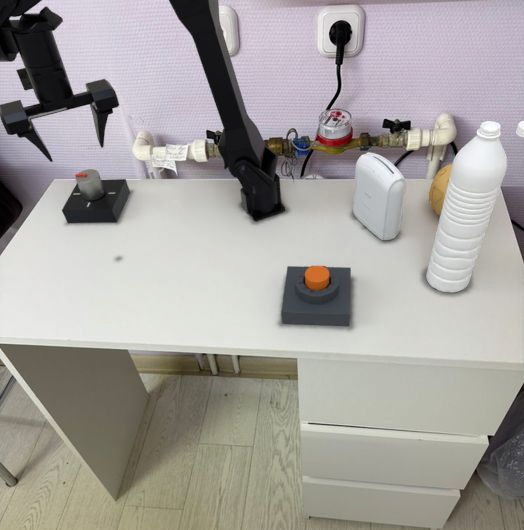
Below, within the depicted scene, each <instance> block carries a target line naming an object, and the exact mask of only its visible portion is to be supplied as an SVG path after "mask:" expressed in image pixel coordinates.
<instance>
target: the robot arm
mask: <svg viewBox="0 0 524 530" xmlns="http://www.w3.org/2000/svg"><path fill="white" fill-rule="evenodd" d="M42 1H43V0H0V63H12V62H15V60H16V59H17V57H18V54H19V56H20V59H21V61H22V63H23V65H24V66H23V68H18V69H16V70H15V71H16V74H17V76H18V78H19V81H20V84H21V85H22V87H23V90H24V91H25V92H26V91H29V90H33V92H34V95H35V97H36V100H37V101H38V103H35V104H32V105H28V106H24V105H23V103H22V101H21V99H17V100H14V101H8V102H6V103H1V104H0V121H1V124H2V126H3V127H4V130H5V132H6V134H7V135H8V136H15V135H17V138H19V139H22V138H25V139H26V140H27V141H29V142H30V143H31V144H33V146H35V147H36V148H37V149H38V150H39V151H40V152H41V154H43V156H45V158H46V159H47V160H48V161H49V162H50V163H53V162H54V160H53V158H52V155H51V152H50V151H49V149H48V148H47V145H46V144H45V142H44V140H43V138H42V137H41V135H40V133H39V131H38V129H37V128H36V126H35V124H34V122H33V120H34V119H38V118H43V117H46V116H50V115H54V114H57V113H61V112H66V111H69V110H74V109H77V108H81V107H85V106H89V107H90V111H91V114H92V119H93V123H94V128H95V134H96V138H97V141H98V144H99V146H100V148H101V149H102V148H104V146H105V136H106V135H105V134H106V126H107V123H108V118H109V115H112V114H114V109H117V108H118V107H119V106H120V103H119V99H118V95H117V93H116V90H115V88H114V87H113V86H112V84H111V82H110V81H109V80H107V79H106V78H102V79H98V80H94V81H89V82H86V83H84V84H85V89H86V91H82V92H79V93H78V92H77V93H74V91H73V88H72V86H71V82H70V80H69V76H68V73H67V70H66V67H65V64H64V62H63V61H64V60H63V59H62V56H61V53H60V50H59V47H58V45H57V44H58V43H57V41H56V38H55V36H54V33H53V32H54V31H56V29H58V28H59V27H60V26H61V24H62V23H63V22H64V18H63V17H62V16H60V15H59V14H57V13H56V12H54V11H52V10H51V9H50V8H49V7H48V6H46V5H45V6H44V7H43V8H41V10H40V11H39V12H36V13H35V12H34V13H33V12H31V13H30V12H29V11H30V10H32V9H33V8H34V7H35V6H36V5H38V4H39V3H41V2H42ZM168 1H169V4H170V6H171V8H172V10H173V11H174V14H175V15H176V17H177V19H178V20H179V22H180V23H181V24H182V26H183V27H184V28H185V30H187V32H188V33H189V35H190V36H191V38H192V40H193V43H194V45H195V49H196V51H197V54H198V57H199V61H200V62H201V66H202V69H203V72H204V75H205V77H206V81H207V83H208V86H209V89H210V92H211V95H212V98H213V101H214V104H215V107H216V110H217V113H218V115H219V118H220V121H221V122H220V123H221V125H222V128H223V129H222V131H221V134H220V137H219V141H218V143H217V149H218V152H219V154H220V156H221V158H222V160H223V169H224V170H227V169H228V172H229V173H230V175H231V176H232V177H233V178H236V179H237V180H238V182H239V184H240V186H241V187H240V189H239V190H240V197H241V206H242V208H243V210H244V211H245V213H246V214H247V215H249V216H250V217H251V219H252V220H253V221H254V222H257V221H260V220H264V219H266V218H269V217H272V216H275V215H279V214H280V213H283V212H285V211H286V206H285V205H284V204H283V203H282V193H281V177H280V175H279V174H278V173H277V166H278V160H279V155H278V154H277V153H276V152H275V151H273V150H272V149H271V148H270V147H268V146H267V145H266V144H265V140H264V138H263V136H262V134H261V132H260V130H259V128H258V126H257V125H256V124H255V122H254V121H253V120H252V119H251V117H250V116H249V114H248V112H247V108H246V105H245V102H244V99H243V95H242V91H241V88H240V85H239V82H238V79H237V75H236V71H235V69H234V66H233V65H234V64H233V62H232V59H231V54H230V51H229V48H228V45H227V41H226V39H225V35H224V32H223V28H222V24H221V21H220V3H219V0H168ZM27 12H29V13H27ZM17 17H19V19H11V18H17Z"/></svg>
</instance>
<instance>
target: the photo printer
mask: <svg viewBox="0 0 524 530" xmlns="http://www.w3.org/2000/svg"><path fill="white" fill-rule="evenodd" d="M406 189H407V181H406V178H405V177H404V175H403V174H402V172H401V171H400V170H399V169H398V167H396V165H394V163H392V162H391V160H389V159H387V158H386V157H384V156H382V155H380V154H378V153H375V152H369V151H367V152H366V153H363V154H361V155H360V156H359V158H358V159H357V161H356V163H355V168H354V186H353V201H352V207H353V208H352V214H353V215H354V216H355V218H356V219H357V220H358V221H359V222H360V223H361V224H362V225H363V226H364V227H365V228H367V230H369V232H371V233H372V234H373V235H375V237H377V238H378V239H380V240H382V241H390V240H391V241H392V240H393V239H396V237H397V236H398V234H399V233H400V230H401V224H402V217H403V209H404V203H405V197H406V191H407V190H406Z"/></svg>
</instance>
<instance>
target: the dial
mask: <svg viewBox="0 0 524 530" xmlns="http://www.w3.org/2000/svg"><path fill="white" fill-rule="evenodd" d="M74 176H75V182H76V184H78V186H79V189H80V191H81V193H82V196H83V198H84V199H86V200H90V201H92V200H97V199H99V198H101V197H103V196H104V194H105V188H104V186H103V183H102V180H103V179H102V178H101V175H100V173H99V171H98V170H96V169H93V168H89V169H84V170H82V171H79V172H78V173H75V175H74Z"/></svg>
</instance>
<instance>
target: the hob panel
mask: <svg viewBox="0 0 524 530" xmlns="http://www.w3.org/2000/svg"><path fill="white" fill-rule="evenodd" d="M101 180H102V183H103V186H104V188H105V194H104V196H103V197H101V198H99V199H97V200H92V201H90V200H86V199H84V198H83V196H82V193H81V191H80V189H79V186H78V184H77V183H75V186H74V187H73V189H72V191H71V193H70V194H69V196H68V199H67V200H66V202H65V203H64V205H63V207H62V209H61V212H62V214H63V216H64V218H65V221H66V222H67V224H100V223H101V224H103V223H104V224H105V223H107V224H109V223H118V221H119V218H120V216H121V214H122V212H123V209H124V207H125V205H126V202H127V200H128V198H129V195H130V193H131V191H130V188H129V184H128V182H127V179H126V178H111V179H110V178H109V179H101Z"/></svg>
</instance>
